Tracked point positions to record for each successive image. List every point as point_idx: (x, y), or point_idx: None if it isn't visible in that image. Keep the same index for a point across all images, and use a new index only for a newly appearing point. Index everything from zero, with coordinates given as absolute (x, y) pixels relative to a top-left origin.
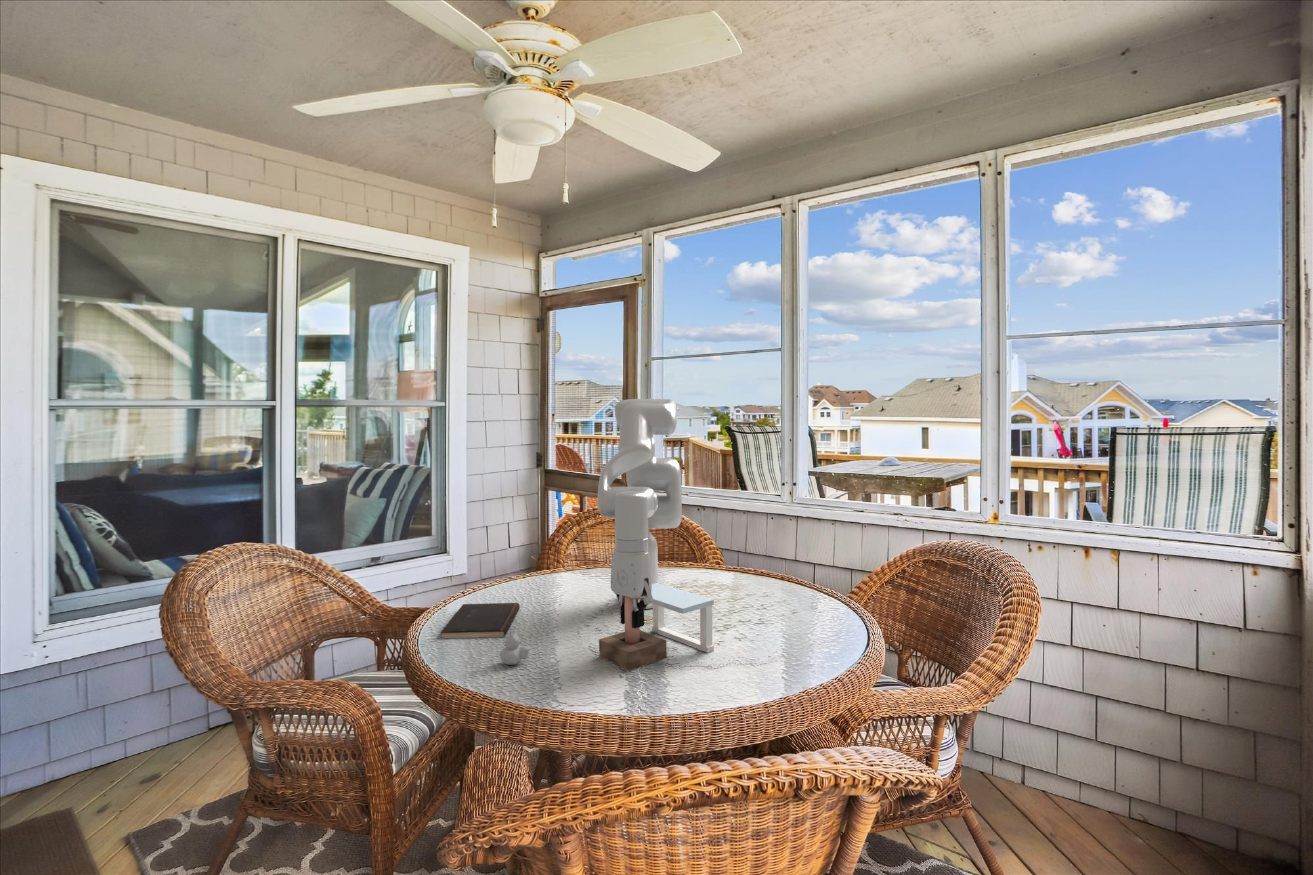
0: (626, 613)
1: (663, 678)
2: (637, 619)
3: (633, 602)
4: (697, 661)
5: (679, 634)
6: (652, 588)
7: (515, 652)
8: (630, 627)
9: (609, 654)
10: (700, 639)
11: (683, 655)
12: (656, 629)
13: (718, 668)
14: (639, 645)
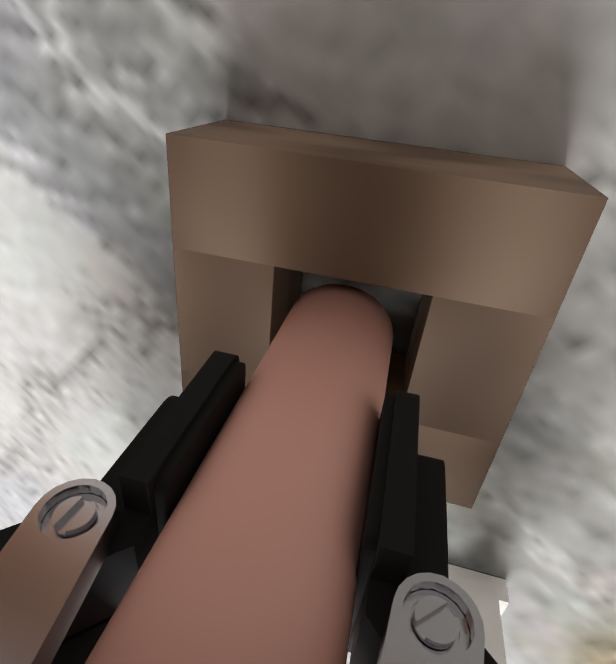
0: (273, 457)
1: (37, 169)
2: (155, 423)
3: (42, 610)
4: (113, 404)
5: None
6: None
7: None
8: (274, 362)
9: (434, 156)
10: None
11: None
12: (471, 586)
13: (19, 388)
14: (227, 293)
